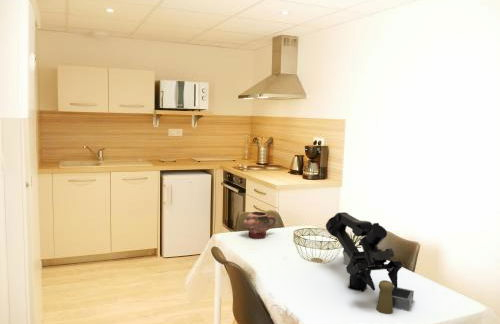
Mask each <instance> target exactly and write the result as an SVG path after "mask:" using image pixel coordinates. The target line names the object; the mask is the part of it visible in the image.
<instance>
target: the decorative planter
mask: <svg viewBox="0 0 500 324" xmlns="http://www.w3.org/2000/svg"><path fill="white" fill-rule="evenodd" d="M270 220H272V221H273V222H272V224H271V225H270ZM276 221H277V220H276V217H275V216H273V215H268V213H266V212H264V211H263V212H261V211H253V212H250V213H248V214H247V215H246V217H245V219H244V220H243V225H244V227H246V228H247V230H248V237H249V238H251V239H255V240H263V239H265V238H266V237H267V231H268V230H270V229H272V228H273V227H274V225H275V223H276Z"/></svg>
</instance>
